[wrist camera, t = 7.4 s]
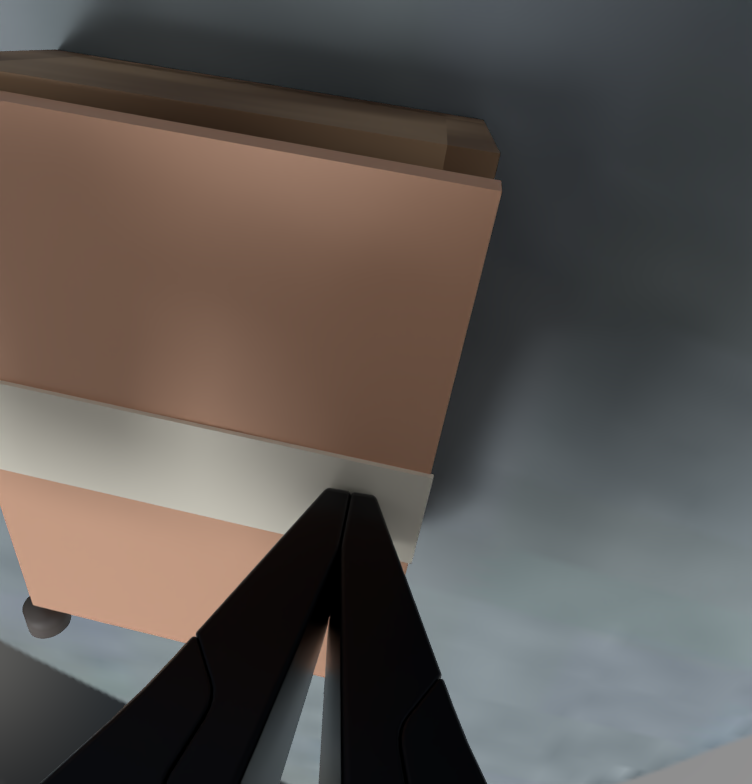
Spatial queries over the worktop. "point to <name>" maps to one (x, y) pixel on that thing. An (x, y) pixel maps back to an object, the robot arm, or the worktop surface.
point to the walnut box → (246, 131)
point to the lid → (213, 349)
